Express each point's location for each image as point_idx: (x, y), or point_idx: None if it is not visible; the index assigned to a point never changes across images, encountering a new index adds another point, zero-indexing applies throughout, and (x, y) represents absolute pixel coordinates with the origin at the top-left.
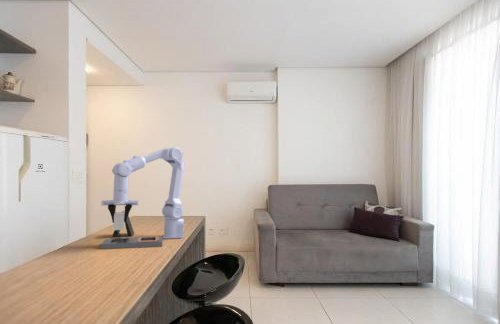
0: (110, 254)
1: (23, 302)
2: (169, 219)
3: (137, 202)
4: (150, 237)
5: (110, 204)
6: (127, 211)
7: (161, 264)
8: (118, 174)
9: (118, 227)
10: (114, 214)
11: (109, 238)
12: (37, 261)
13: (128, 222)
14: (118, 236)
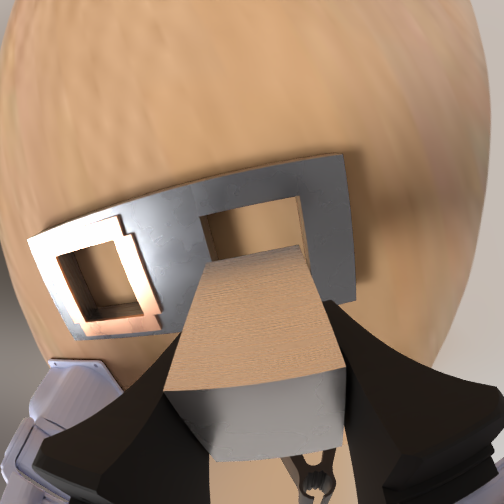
0: (223, 43)
1: None
2: (53, 424)
3: (3, 500)
4: (106, 319)
5: (460, 499)
6: (110, 414)
7: (14, 12)
8: None
9: (252, 263)
10: (334, 355)
11: (336, 302)
12: (463, 10)
13: (286, 458)
14: None
